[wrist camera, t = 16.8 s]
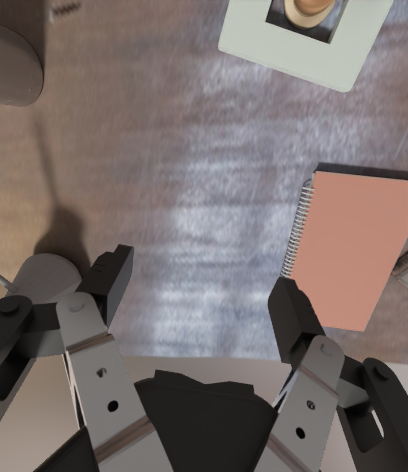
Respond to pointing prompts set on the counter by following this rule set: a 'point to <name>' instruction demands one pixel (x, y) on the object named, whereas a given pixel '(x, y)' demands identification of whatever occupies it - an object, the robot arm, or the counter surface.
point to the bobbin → (307, 12)
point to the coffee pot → (44, 279)
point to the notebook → (347, 244)
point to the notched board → (305, 41)
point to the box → (401, 270)
